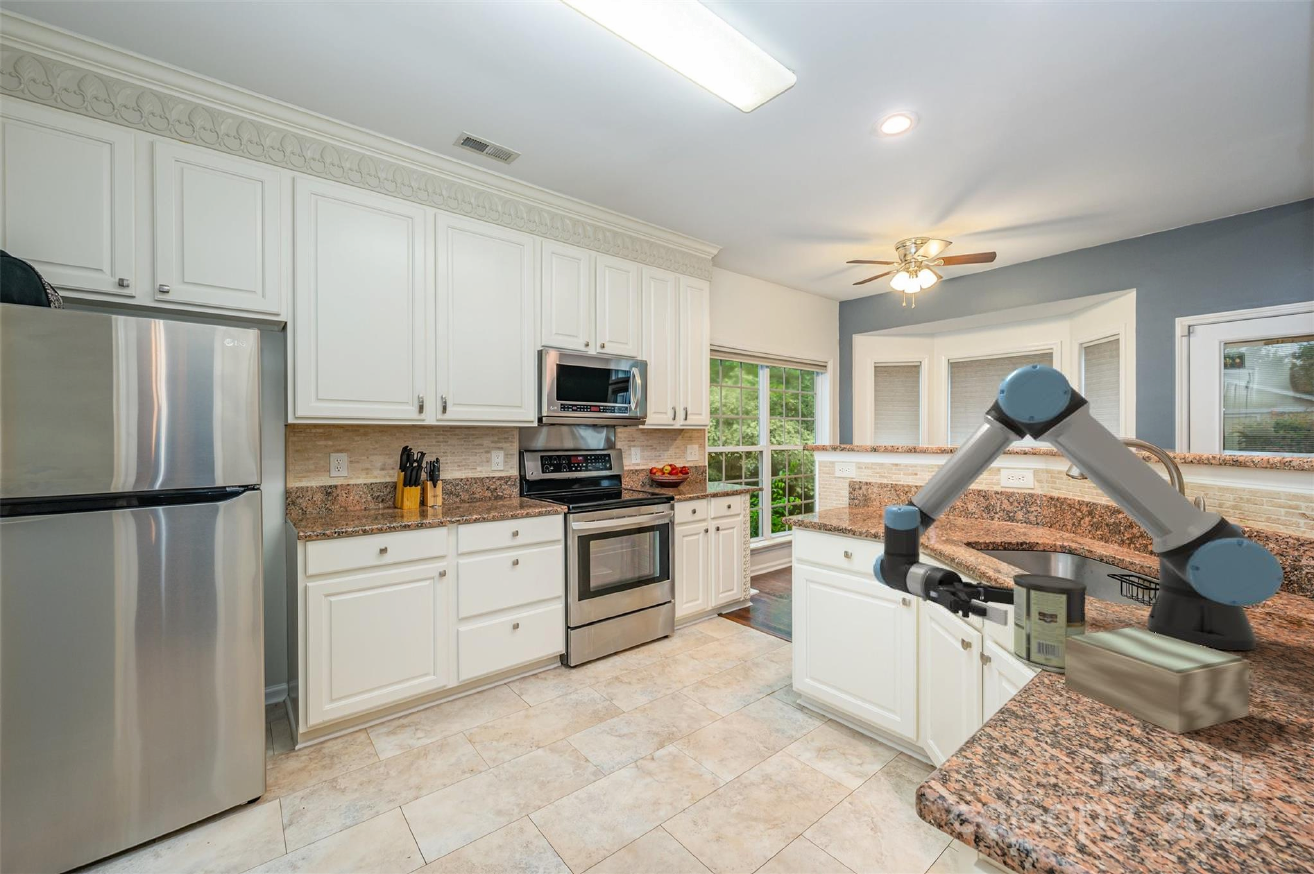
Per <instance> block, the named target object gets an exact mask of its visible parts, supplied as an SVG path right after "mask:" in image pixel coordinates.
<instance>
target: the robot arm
mask: <svg viewBox="0 0 1314 874" xmlns="http://www.w3.org/2000/svg"><path fill="white" fill-rule="evenodd" d="M997 389H998V390H997V397H996V399H995V401H993V404H992V405H991V406H990V407H989V408H988V409H987V411H986V412H984V414H983V422H982V423H981V424H980V425H979V426H978V427H977V428H976V429H975V430H974V432H972V434H970V436H969V437H967V439H965V441H964V442H963V444H961V445H960V446H959V448H957V449H956V451H954V452H953V454H952V455H951V456H950V457H949V458H948V459H947V460H946V461H945V462H944V463H943V464H942V465H941V467H939V469H938V470H937V471H936V472H935V473H934V474H933V475H932V476H931V477H930V478H929V480H928V481H927V482H925V483H924V484H923V486H922V487H921V488H920V489H919V490H918V491H917V492H916V493H915V494H914V496H912V497H911V499H910V500H909V501H908V502H907V503H905V505H902V504H901V505H900V504H899V505H898V504H897V505H895V504H891V505H887V506H886V507H885V509H884V518H883V523H884V524H883V527H884V529H883V531H884V532H883V535H884V537H883V538H884V539H883V543H884V544H883V546H884V547H883V548H884V549H883V553H882V554H880V555H879V556H877V558H876V559H875V561H874V564H873V567H872V568H873V569H872V570H873V571H872V572H873V576H874V578H875V579H876V580H877V582H878V583H880V584H882V585H884V586H886V587H889V588H890V589H893V590H896V591H899V592H903V593H906V594H907V595H908V594H909V595H912V596H914V597H918V598H921V600H922V601H923V602H927V601H929V602H932V603H933V604H938V605H939V606H942V607H944V608H945V609H946V610H948V611H950V612H951V613H952V614H955V615H956V614H960V612H961V617H962V618H966V619H968V618H970V614H971V616H975V617H977V618H980V619H983V620H986V621H989V622H992V623H995V624H998V625H1000V626H1003V627H1006V626H1008V623H1009V622H1008V620H1009V618H1008V617H1009V616H1008V615H1009V614H1008V613H1009V612H1008V609H1006V608H1003V607H999V606H996V605H994V604H995V603H996V604H1003V605H1009V606H1014V588H1010V587H1005V586H997V585H993V584H988V583H983V582H976V583H972V582H971V581H963V579H962V578H961V576H960V574H959V573H957V572H956V571H954V570H950V569H947V568H945V567H944V568H943V567H939V566H936V565H934V564H928V563H924V562H922V561H921V562H920V547H921V546H920V545H921V544H920V542H921V540H920V539H921V537H923V535H925V533H926V532H927V531H928V529H930V528H931V527H932V526H933V525H934V523H935V522H936V521H937V520H938V519H940V517H941V516H942V515H943V514H944V513H945V512H946V511H947V510H948V509H949V508H950V507H951V506H952V505H953V504H954V503H955V502H956V501H957V500H958V499H959V498H960V497H961V496H962V495H963V494H964V493H965V492H966V490H968V489H969V488H970V487H971V486H972V485H973V483H975V482H976V481H977V480H978V479H979V478H980V477H981V475H982V474H984V472H986V470H988V468H989V467H990V466H992V464H994V463H995V461H996V460H997V459H998V458H999V457H1000V456H1001V455H1002V454H1003V453H1004V452H1005V451H1006V450H1007V449H1008V448H1009V447H1010V446H1012V444H1013V443H1015V442H1018V441H1019V442H1020V441H1023V440H1024V439H1025V438H1026V437H1027V436H1028V435H1029V437H1031V439H1033V440H1034V441H1035V442H1040V443H1042V442H1043V443H1049V444H1050V445H1052V447H1053V448H1054V449H1055V450H1057V451H1058V452H1059V453H1060V454H1061V455H1062V456H1063V457H1065V459H1066V460H1068V462H1070V463H1071V464H1072V465H1073V466H1074V467H1075V468H1076V469H1077V470H1078V471H1079V472H1081V473H1082V474H1083V475H1084V476H1085V477H1086V478H1087V479H1088V480H1089V481H1090V482H1091V483H1093V485H1095V486H1096V487H1097V488H1098V489H1099V490H1100V491H1101V492H1102V493H1103V494H1105V495H1106V497H1108V498H1109V499H1110V500H1111V501H1112V502H1113V503H1114V504H1115V505H1117V507H1119V508H1120V510H1122V511H1123V512H1124V513H1125V514H1126V515H1127V516H1129V518H1131V520H1133V521H1134V523H1136V524H1137V525H1138V526H1139V527H1140V528H1141V529H1142V530H1143V531H1144V532H1146V533H1147V534H1148V535H1149V536H1150V537H1151V538H1152V551H1153V552H1154V553H1156V555H1157V556H1158V559H1159V561H1158V562H1159V564H1158V565H1159V567H1158V568H1159V569H1158V571H1159V573H1158V574H1159V576H1158V577H1159V578H1158V579H1159V580H1158V581H1159V582H1158V583H1159V590H1158V591H1159V592H1158V593H1157V596H1156V598H1155V601H1154V603H1153V604H1152V607H1151V610H1150V612H1149V614H1148V616H1147V629H1148V628H1149V629H1150V630H1151V631H1150V630H1149V629H1148V630H1149V631H1150V632H1152V631H1153V633H1154V632H1156V633H1157V634H1161V635H1164V636H1168V637H1171V638H1175V639H1179V640H1182V641H1186V642H1189V643H1193V644H1197V645H1202V646H1207V648H1209V647H1214V648H1213V649H1215V648H1217V649H1216V650H1223V649H1225V651H1233V650H1249V651H1253V649H1254V650H1256V647H1257V639H1256V638H1257V637H1256V634H1255V632H1254V630H1253V628H1252V625H1251V623H1250V621H1249V618H1248V615H1247V612H1246V611H1245V609H1244V606H1246V607H1248V606H1253V605H1256V604H1257V605H1258V604H1260V603H1262V602H1265V601H1267V600H1269V599H1270V598H1272V597H1273V596H1274V595H1275V594H1277V592H1278V591H1279V589H1281V586H1282V585H1283V584H1282V583H1283V579H1284V571H1283V568H1282V565H1281V563H1280V561H1279V560H1278V558H1277V557H1276V555H1274V554H1273V553H1272V551H1270V550H1269V549H1268V548H1267V547H1266V546H1264V545H1261V544H1260V543H1259V542H1256V541H1253V540H1251V539H1249V538H1248V537H1247V536H1246V535H1245V534H1244V533H1243V529H1242V527H1241V526H1240V525H1238V524H1235V523H1231V522H1229V520H1227V519H1226V518H1225V517H1224V516H1223V515H1222V514H1220V513H1218V512H1210V511H1203V510H1200V509H1199V507H1197V506H1196V505H1195V504H1194V503H1192V501H1190V500H1189V499H1188V498H1187V497H1186V496H1184V495H1183V494H1182V493H1181V492H1180V491H1178V489H1177V488H1176V487H1174V486H1173V485H1172V484H1171V483H1170V482H1169V481H1167V480H1166V479H1165V478H1164V477H1163V476H1162V475H1160V474H1159V473H1158V472H1157V471H1156V470H1155V469H1153V467H1151V466H1150V465H1149V464H1148V463H1147V462H1146V461H1144V460H1143V459H1142V458H1141V457H1139V455H1137V453H1135V452H1134V451H1133V450H1131V448H1129V447H1128V446H1127V445H1126V444H1124V442H1122V441H1121V440H1120V439H1119V438H1118V437H1117V436H1115V434H1113V433H1112V432H1111V431H1110V430H1109V429H1107V428H1106V427H1105V426H1104V425H1103V424H1102V423H1100V422H1099V421H1098V420H1097V419H1096V418H1095V417H1094V416H1093V415H1091V413H1090V407H1091V402H1089V400H1088V399H1086V398H1085V397H1084V396H1083V395H1082V394H1081V393H1079V392H1078V391H1077V390H1076V389H1075V388H1074V387H1072V385H1070V382H1069V380H1068V379H1067V377H1066V376H1065V375H1064V374H1063V373H1062V372H1061V371H1059V370H1057V369H1056V368H1053V367H1051V366H1048V365H1043V364H1030V365H1024V366H1021V367H1020V368H1017V369H1014V370H1012V372H1009V374H1008V375H1007V376H1006V377H1005V378H1004V379H1002V381H1001V382H1000V384H999V387H998V388H997ZM990 603H994V604H990Z"/></svg>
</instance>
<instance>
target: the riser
mask: <svg viewBox="0 0 1314 874" xmlns="http://www.w3.org/2000/svg"><path fill="white" fill-rule="evenodd" d="M1064 688H1065V689H1067V690H1069V691H1073V692H1075V693H1077V694H1080V695H1083V696H1085V697H1087V698H1090V699H1092V700H1093V701H1097V702H1099V703H1102V704H1103V705H1106V706H1109V707H1110V708H1114V709H1116V710H1118V711H1121V712H1123V713H1126V714H1128V715H1131V716H1133V717H1136V718H1138V719H1140V720H1143V721H1145V722H1148V723H1150V724H1153V725H1155V726H1157V727H1159V728H1162V729H1165V730H1167V731H1170V732H1172V733H1174V734H1177V735H1180V734H1185V733H1188V732H1192V731H1197V730H1200V729H1205V728H1208V727H1210V726H1211V727H1212V726H1216V725H1218V724H1222V723H1227V722H1231V721H1234V720H1238V719H1241V718H1242V719H1243V718H1245V717H1250V660H1247V659H1243V656H1239V655H1236V654H1232V653H1228V652H1226V651H1221V650H1219V649H1215V648H1209V647H1204V646H1200V645H1197V644H1193V643H1189V642H1186V641H1182V640H1179V639H1175V638H1171V637H1168V636H1164V635H1161V634H1157V633H1154V632H1152V631H1150V630H1146V629H1142V628H1138V627H1135V626H1132V627H1125V628H1117V629H1111V630H1104V631H1099V632H1091V633H1085V634H1083V635H1076V636H1071V637H1069V638H1065V673H1064Z"/></svg>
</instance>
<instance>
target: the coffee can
mask: <svg viewBox="0 0 1314 874" xmlns="http://www.w3.org/2000/svg"><path fill="white" fill-rule="evenodd" d="M1012 581H1013V589H1014V605H1013V657H1014V658H1015V659H1016V660H1017V661H1019V662H1021V663H1023V664H1025V665H1027V666H1029V667H1032V668H1035V669H1039V670H1043V669H1044V668H1045V669H1044V670H1043V671H1047V672H1050V673H1051V672H1052V673H1059V674H1065V638H1069V637H1071V636H1076V635H1083V634H1086V591H1087V584H1085V583H1083V582H1081V581H1078V580H1075V579H1073V578H1067V577H1061V576H1055V575H1050V574H1049V575H1048V574H1040V573H1039V574H1038V573H1019V574H1018V573H1017V574H1015V575H1012Z"/></svg>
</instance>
